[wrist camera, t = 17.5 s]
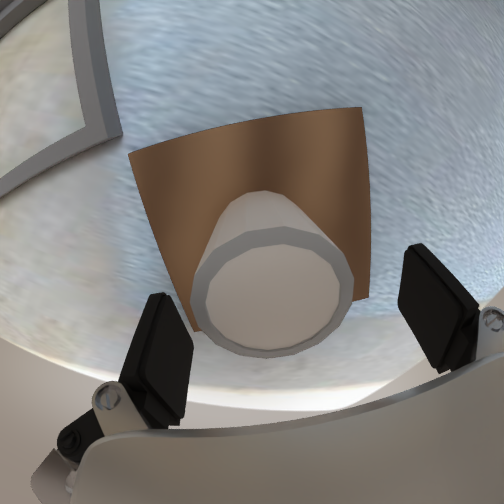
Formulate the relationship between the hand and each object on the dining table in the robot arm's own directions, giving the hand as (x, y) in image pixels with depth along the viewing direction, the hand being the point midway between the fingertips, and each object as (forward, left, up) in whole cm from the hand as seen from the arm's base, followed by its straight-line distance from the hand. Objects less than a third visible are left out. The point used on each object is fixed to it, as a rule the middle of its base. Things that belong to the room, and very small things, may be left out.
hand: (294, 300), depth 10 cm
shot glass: (+1, +1, -8) cm, 8 cm away
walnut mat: (0, +1, -8) cm, 8 cm away
